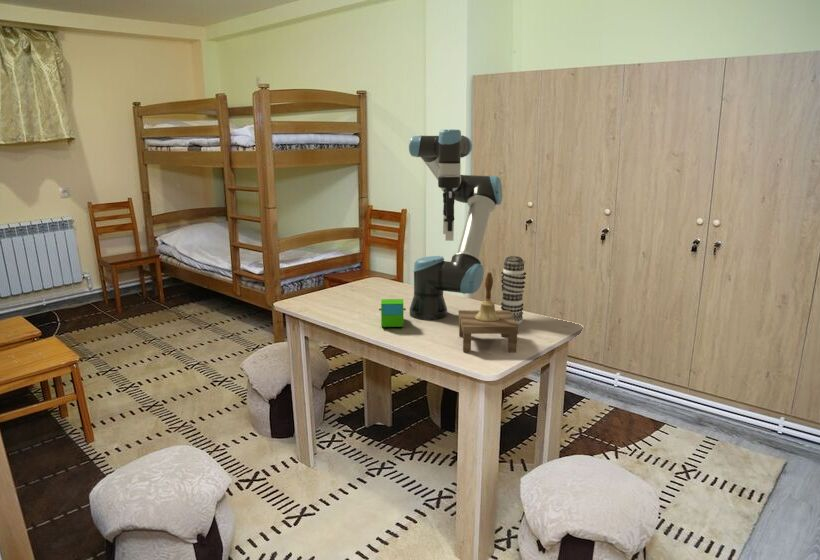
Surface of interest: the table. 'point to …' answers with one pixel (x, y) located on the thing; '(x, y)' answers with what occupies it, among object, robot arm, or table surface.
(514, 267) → the decorative candle
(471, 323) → the walnut stool
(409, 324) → the table surface
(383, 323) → the toy car
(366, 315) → the table surface
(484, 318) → the hand bell
